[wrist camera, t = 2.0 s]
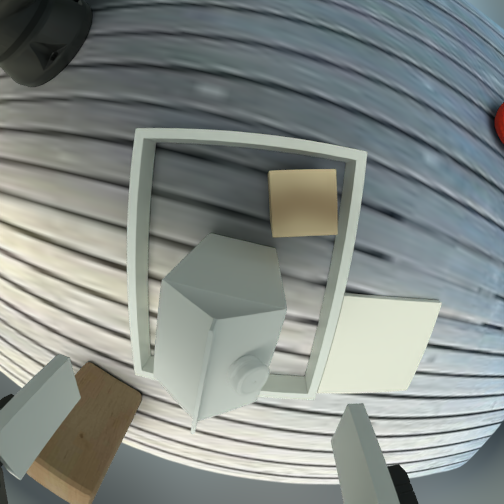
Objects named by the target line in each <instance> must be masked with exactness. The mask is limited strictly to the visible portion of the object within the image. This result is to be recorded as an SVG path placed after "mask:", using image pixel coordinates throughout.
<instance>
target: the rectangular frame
mask: <svg viewBox="0 0 504 504" xmlns="http://www.w3.org/2000/svg"><path fill="white" fill-rule="evenodd" d="M156 143H186V144H205V145H220V146H232V147H243V148H253V149H262V150H270V151H278V152H285V153H293V154H299V155H306V156H312V157H318V158H324V159H330V160H335V161H341V162H346V166H345V175H344V183H343V190H342V198H341V205H340V212H339V218H338V235H336V237H335V243H334V249H333V254H332V260H331V265H330V270H329V276H328V281H327V286H326V291H325V295H324V300H323V305H322V309H321V314H320V318H319V322H318V327H317V331H316V335H315V339H314V343H313V347H312V351H311V355H310V359H309V363H308V366H307V370H306V374H305V376H289V375H276V374H269V377H268V379H267V381H266V383H265V384H264V386H263V387H262V388H261V391H260V394H259V396H258V397H269V398H282V399H301V400H314V399H315V396H316V393H317V390H318V387H319V384H320V381H321V378H322V374H323V371H324V368H325V365H326V361H327V358H328V354H329V351H330V347H331V344H332V340H333V336H334V333H335V329H336V325H337V321H338V317H339V313H340V309H341V305H342V301H343V297H344V292H345V288H346V283H347V279H348V274H349V269H350V264H351V259H352V254H353V249H354V244H355V238H356V232H357V226H358V220H359V214H360V207H361V200H362V193H363V185H364V177H365V169H366V159H367V152H365V151H361V150H356V149H352V148H347V147H342V146H337V145H332V144H326V143H321V142H315V141H309V140H302V139H296V138H289V137H282V136H274V135H266V134H257V133H247V132H236V131H223V130H207V129H182V128H136V130H135V138H134V146H133V154H132V163H131V174H130V186H129V201H128V221H127V287H128V308H129V323H130V335H131V345H132V354H133V363H134V371H135V375H137V376H141V377H145V378H149V379H153V380H157V379H156V378H155V377H154V356H151V350H150V334H149V311H148V242H149V218H150V202H151V189H152V177H153V167H154V158H155V149H156Z"/></svg>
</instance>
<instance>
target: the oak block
mask: <svg viewBox="0 0 504 504" xmlns="http://www.w3.org/2000/svg"><path fill="white" fill-rule="evenodd" d="M268 190H269V208H270V224H271V230H272V236H273V238H276V237H297V236H319V235H338V213H337V181H336V169H302V170H273V171H269V172H268Z"/></svg>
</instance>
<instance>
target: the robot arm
mask: <svg viewBox="0 0 504 504" xmlns="http://www.w3.org/2000/svg"><path fill="white" fill-rule="evenodd" d="M91 21H92V11H91V8H90V6H89V5H88V4H87V3H86V2H85V1H83V0H0V67H1V68H2V69H3V70H4V71H5V72H6V73H7V74H8V75H9V76H10V77H11V78H12V79H13V80H14V81H15V82H16V83H18V84H21V85H24V86H28V87H36V86H39V85H42V84H44V83H46V82H47V81H49V80H50V79H52V78H53V77H54V76H56V75H57V74H58V73H59V72H60V71H61V70H62V69H63V68H64V67H65V66H66V65H67V64H68V63H69V62H70V61H71V59H72V58H73V57H74V55H75V54H76V53H77V51H78V50H79V48H80V47H81V45H82V43H83V42H84V40H85V38H86V36H87V34H88V31H89V29H90V26H91ZM80 399H81V396H80V393H79V390H78V386H77V383H76V379H75V376H74V372H73V368H72V364H71V360H70V358H69V357H67V356H64V355H61V354H58V355H57V356H55V357H54V358H53V359H52V360H51V361H50V362H49V363H48V364H47V365H46V366H45V367H44V368H43V369H42V370H41V371H40V372H38V373H37V374H36V375H35V376H34V377H33V378H32V379H31V380H30V381H29V382H28V383H27V384H26V385H25V386H24V387H23V388H22V389H21V390H20V391H19V392H18V393H17V394H16V395H15V396H14V395H12V394H10V395H8V396H6V397H4V398H2V399H1V400H0V504H8V501H7V495H6V489H5V483H4V476H3V471H2V468H1V466H2V465H4V466H5V468H6V469H7V470H8V471H9V472H10V473H11V474H13V475H14V476H15V477H17V478H18V479H20V480H21V479H22V478H23V476H24V475H25V473H26V472H27V470H28V469H29V467H30V466H31V465H32V463H33V462H34V460H35V459H36V458H37V456H38V455H39V453H40V452H41V451H42V449H43V448H44V446H45V445H46V444H47V442H48V441H49V440H50V438H51V437H52V435H53V434H54V433H55V431H56V430H57V429H58V427H59V426H60V425H61V423H62V422H63V421H64V419H65V418H66V417H67V415H68V414H69V413H70V412H71V410H72V409H73V408H74V406H75V405H76V404H77V402H78V401H79V400H80ZM331 444H332V448H333V453H334V458H335V462H336V467H337V472H338V477H339V482H340V487H341V492H342V497H343V502H344V504H418V501H417V499H416V496H415V493H414V491H413V488H412V485H411V484H410V480H409V478H408V475H407V473H406V471H405V470H404V469H403V468H402V467H401V466H400V465H399V464H398V465H393V466H387V465H386V462H385V459H384V457H383V454H382V451H381V448H380V446H379V443H378V440H377V438H376V435H375V433H374V430H373V427H372V425H371V422H370V420H369V417H368V414H367V412H366V409H365V407H364V404H363V403H361V404H348V405H347V407H346V409H345V412H344V414H343V416H342V418H341V421H340V423H339V425H338V427H337V429H336V431H335V434H334V436H333V438H332V440H331Z"/></svg>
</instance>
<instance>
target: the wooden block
mask: <svg viewBox="0 0 504 504" xmlns="http://www.w3.org/2000/svg"><path fill="white" fill-rule="evenodd" d="M75 379H76V383H77V386H78V390H79V393H80V396H81V399H80V400H79V401H78V402H77V404H76V405H75V406H74V408H73V409H72V410H71V412H70V413H69V414H68V415H67V417H66V418H65V419H64V421H63V422H62V423H61V425H60V426H59V427H58V429H57V430H56V431H55V433H54V434H53V435H52V437H51V438H50V440H49V441H48V442H47V444H46V445H45V446H44V448H43V449H42V451H41V452H40V453H39V455H38V456H37V458H36V459H35V460H34V462H33V463H32V465H31V466H30V467H29V469H28V470H27V474H28V475H29V476H31V477H32V478H33V479H35V480H36V481H37V482H39V483H40V484H42V485H43V486H44V487H46V488H48V489H49V490H50V491H52V492H53V493H55V494H56V495H58V496H60V497H61V498H63V499H64V500H66V501H68V502H69V503H71V504H92V502H93V499H94V498H95V495H96V493H97V491H98V489H99V487H100V485H101V483H102V481H103V479H104V477H105V474H106V472H107V470H108V468H109V466H110V464H111V462H112V460H113V458H114V456H115V454H116V452H117V450H118V448H119V446H120V444H121V442H122V440H123V438H124V436H125V434H126V432H127V430H128V428H129V426H130V424H131V422H132V419H133V417H134V415H135V413H136V411H137V409H138V407H139V405H140V403H141V401H142V399H141V394H140V393H139V392H138V391H137V390H135V389H133V388H131V387H130V386H128V385H126V384H124V383H123V382H121V381H119V380H118V379H116V378H115V377H113V376H111V375H110V374H108V373H107V372H105V371H103V370H102V369H100V368H99V367H97V366H96V365H94V364H93V363H90V362H88V363H86V364H85V365H84V366H83V367H82V368H81V369H80V370H79V371H78V372H77V374H76V375H75Z"/></svg>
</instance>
